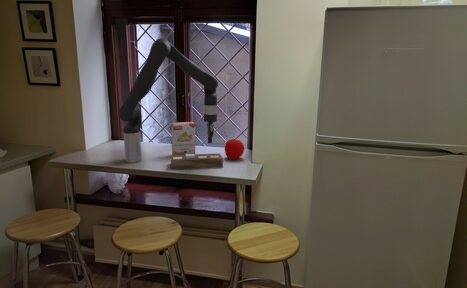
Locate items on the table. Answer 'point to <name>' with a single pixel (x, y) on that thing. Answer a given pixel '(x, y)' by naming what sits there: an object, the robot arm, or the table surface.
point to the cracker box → (183, 138)
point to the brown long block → (196, 161)
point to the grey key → (190, 156)
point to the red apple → (234, 149)
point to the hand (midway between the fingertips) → (209, 143)
